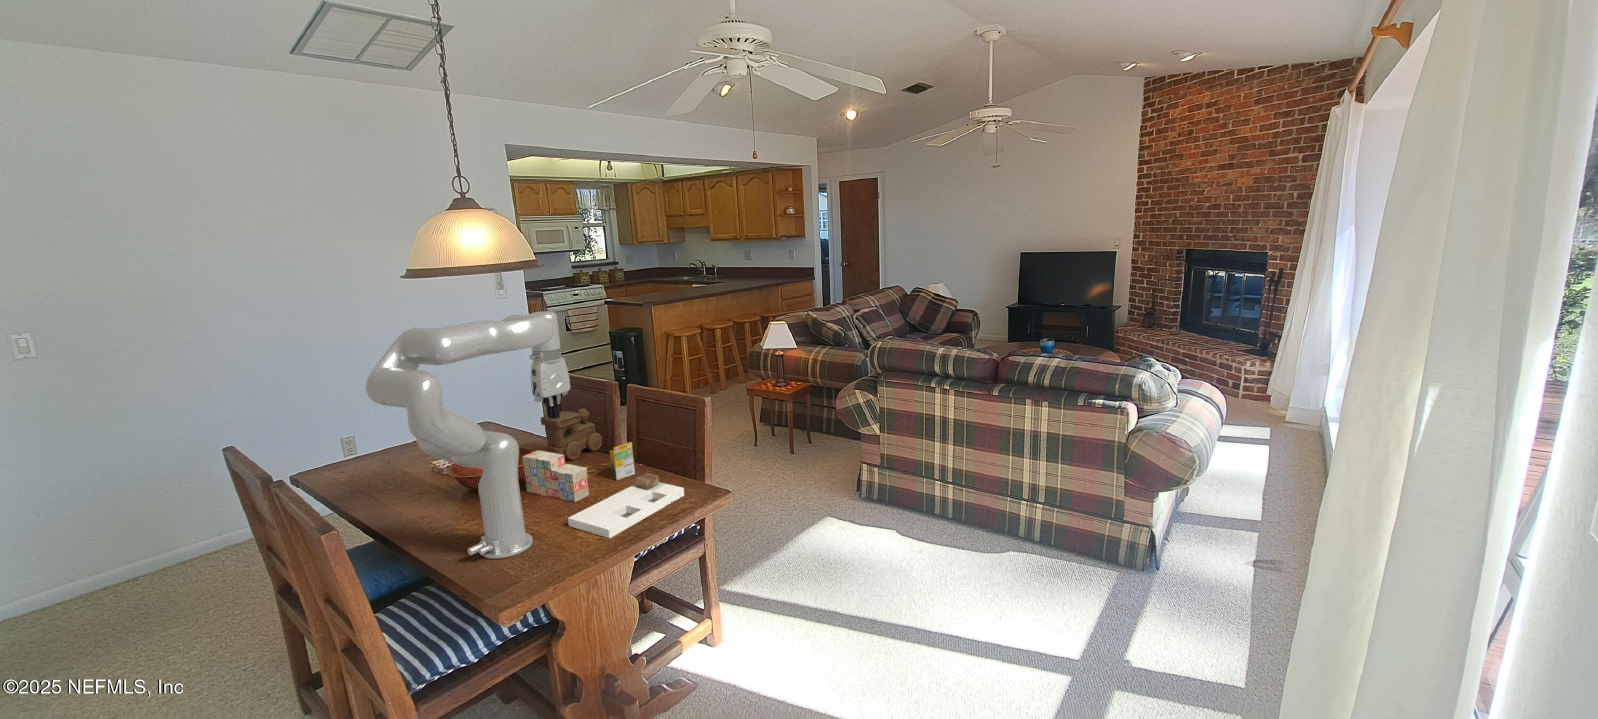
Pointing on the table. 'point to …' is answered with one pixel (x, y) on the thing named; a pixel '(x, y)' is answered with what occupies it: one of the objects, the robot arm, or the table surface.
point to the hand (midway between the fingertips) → (553, 417)
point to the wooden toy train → (571, 434)
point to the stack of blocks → (554, 476)
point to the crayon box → (622, 461)
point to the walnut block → (647, 481)
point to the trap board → (624, 509)
